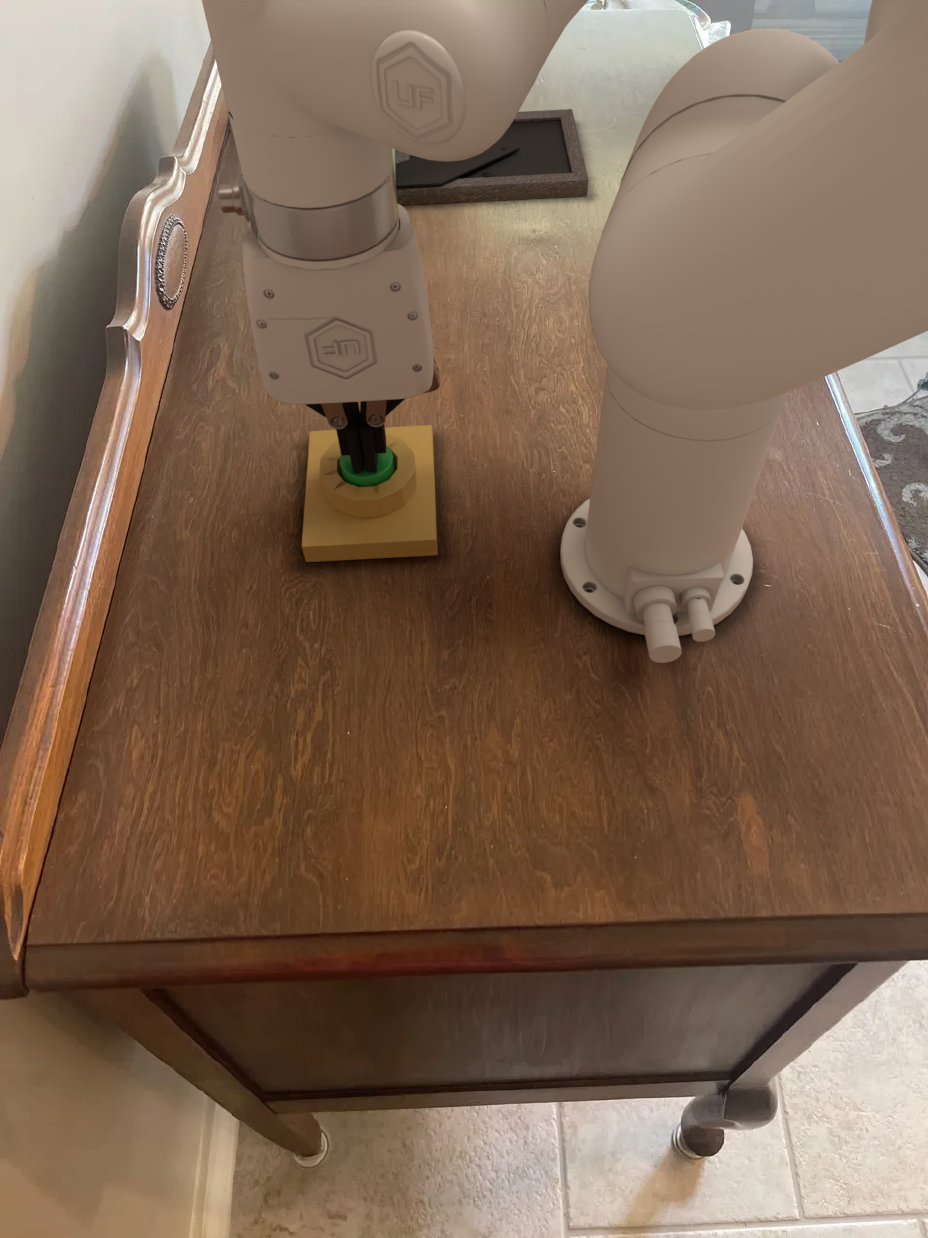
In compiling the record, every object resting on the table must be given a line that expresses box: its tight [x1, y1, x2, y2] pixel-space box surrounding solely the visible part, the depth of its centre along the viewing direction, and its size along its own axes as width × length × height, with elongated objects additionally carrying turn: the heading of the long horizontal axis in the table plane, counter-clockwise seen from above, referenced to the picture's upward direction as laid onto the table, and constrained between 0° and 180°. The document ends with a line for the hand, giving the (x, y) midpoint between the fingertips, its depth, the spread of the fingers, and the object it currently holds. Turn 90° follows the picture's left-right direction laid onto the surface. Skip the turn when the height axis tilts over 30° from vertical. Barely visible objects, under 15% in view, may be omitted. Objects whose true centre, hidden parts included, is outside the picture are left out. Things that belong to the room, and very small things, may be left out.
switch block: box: [301, 424, 439, 563], centre depth 64 cm, size 11×9×4 cm
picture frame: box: [396, 108, 589, 206], centre depth 90 cm, size 13×2×18 cm
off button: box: [340, 446, 395, 487], centre depth 63 cm, size 4×4×2 cm
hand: (365, 457), depth 62 cm, fingers closed
